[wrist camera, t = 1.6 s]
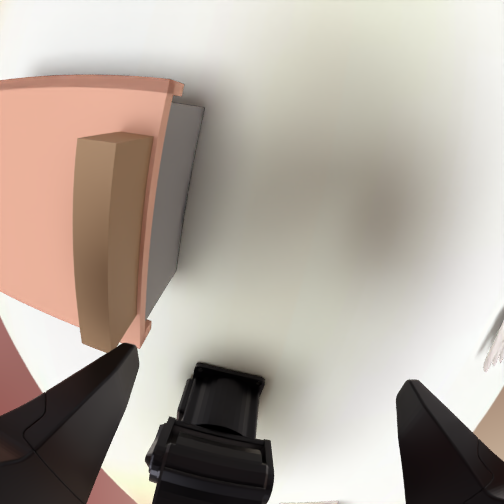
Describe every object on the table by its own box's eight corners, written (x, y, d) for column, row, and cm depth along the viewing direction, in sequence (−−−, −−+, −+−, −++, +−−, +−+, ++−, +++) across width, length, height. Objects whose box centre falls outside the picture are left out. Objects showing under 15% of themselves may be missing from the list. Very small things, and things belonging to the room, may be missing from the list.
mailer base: (204, 107, 18) (167, 101, 12) (176, 270, 23) (142, 326, 17) (27, 95, 18) (-34, 100, 11) (22, 226, 23) (-29, 257, 16)
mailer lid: (184, 84, 12) (135, 68, 8) (151, 328, 18) (118, 388, 13) (-23, 85, 12) (-77, 92, 7) (-20, 261, 18) (-60, 291, 13)
